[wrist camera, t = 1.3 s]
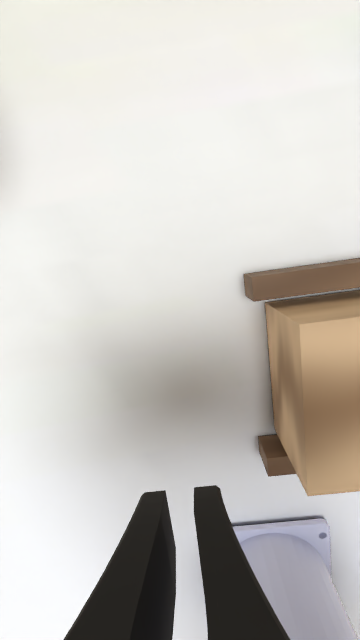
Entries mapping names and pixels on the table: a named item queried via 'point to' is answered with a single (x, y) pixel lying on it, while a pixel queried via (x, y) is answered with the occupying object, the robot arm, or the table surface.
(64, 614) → the table surface
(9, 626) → the table surface
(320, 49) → the table surface
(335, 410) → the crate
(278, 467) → the bay
